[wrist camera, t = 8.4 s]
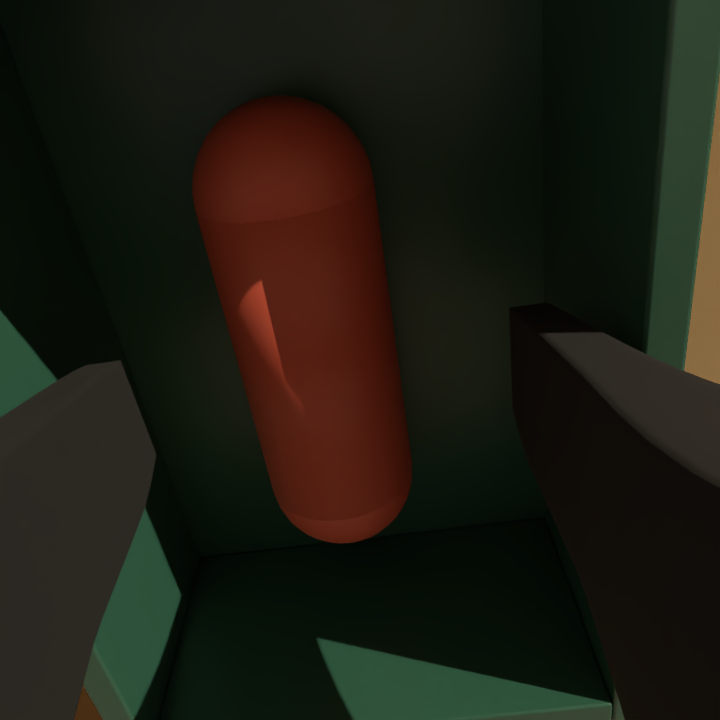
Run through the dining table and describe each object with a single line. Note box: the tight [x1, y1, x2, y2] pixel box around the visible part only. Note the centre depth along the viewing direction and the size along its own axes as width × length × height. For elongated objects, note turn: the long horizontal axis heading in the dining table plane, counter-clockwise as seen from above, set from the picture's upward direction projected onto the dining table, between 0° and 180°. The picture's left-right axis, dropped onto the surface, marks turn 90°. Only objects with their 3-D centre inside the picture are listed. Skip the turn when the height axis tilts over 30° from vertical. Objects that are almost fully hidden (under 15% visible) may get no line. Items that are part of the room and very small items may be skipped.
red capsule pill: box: [192, 95, 412, 544], centre depth 12 cm, size 9×3×3 cm, turn 8°
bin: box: [0, 0, 720, 720], centre depth 12 cm, size 10×14×6 cm
